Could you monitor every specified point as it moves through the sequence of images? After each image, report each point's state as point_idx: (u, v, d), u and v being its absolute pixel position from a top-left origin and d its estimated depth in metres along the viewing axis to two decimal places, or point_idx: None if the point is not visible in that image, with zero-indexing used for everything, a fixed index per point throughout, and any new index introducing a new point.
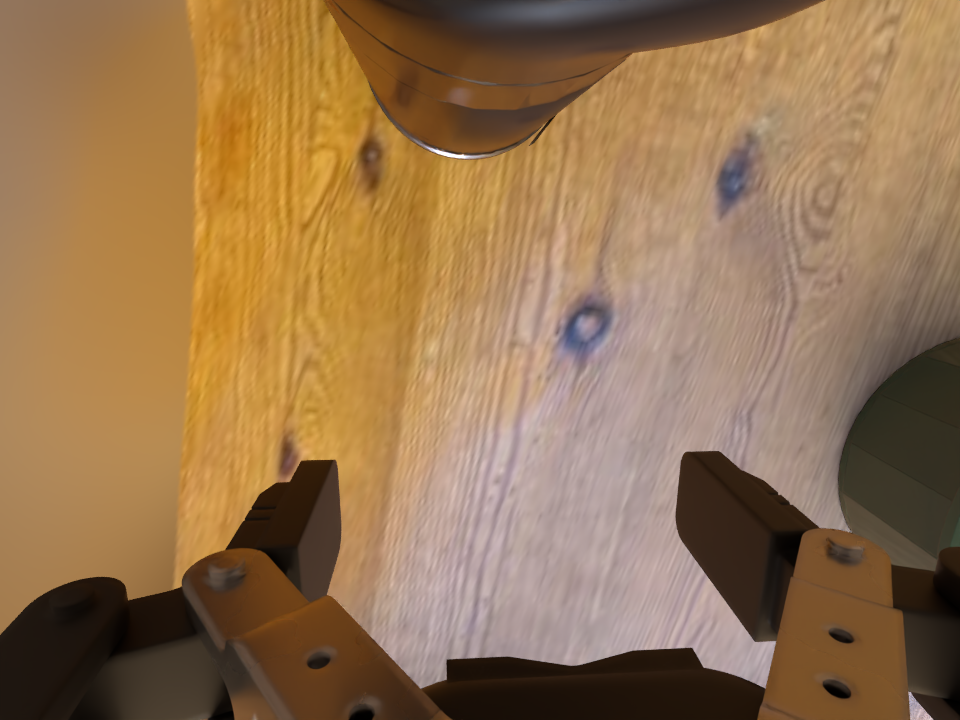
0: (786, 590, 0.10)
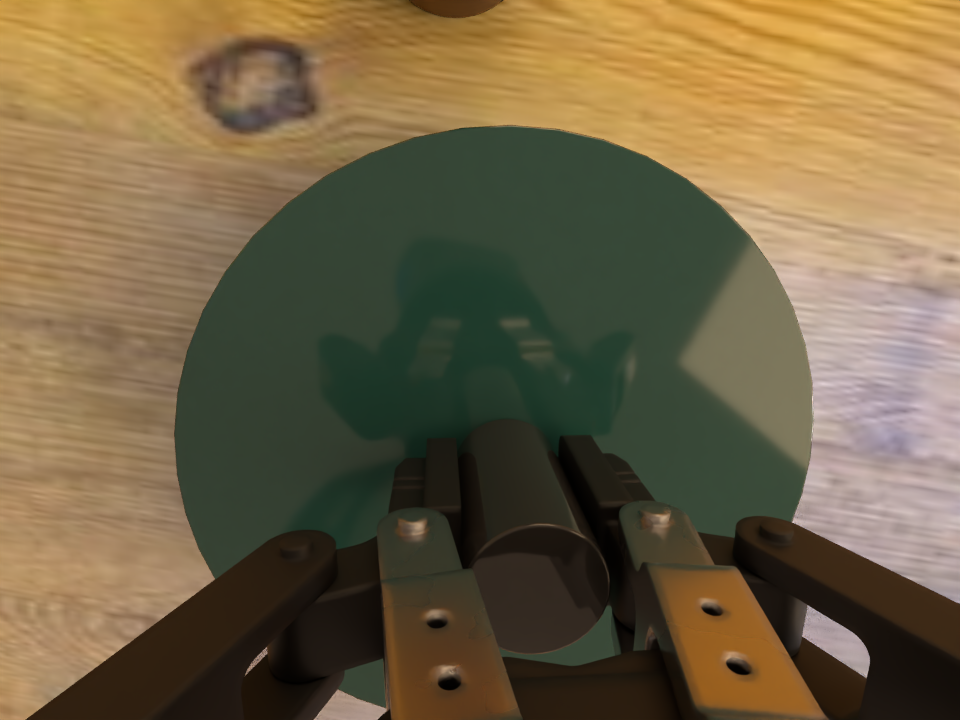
0: None
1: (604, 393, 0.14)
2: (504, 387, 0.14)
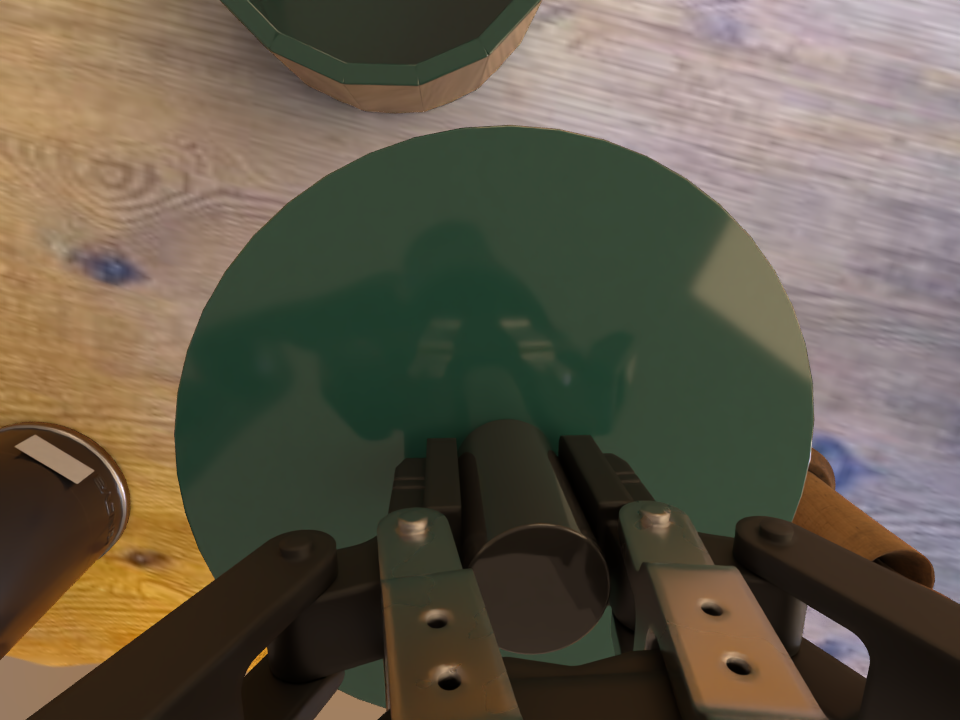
0: None
1: (604, 393, 0.14)
2: (504, 387, 0.14)
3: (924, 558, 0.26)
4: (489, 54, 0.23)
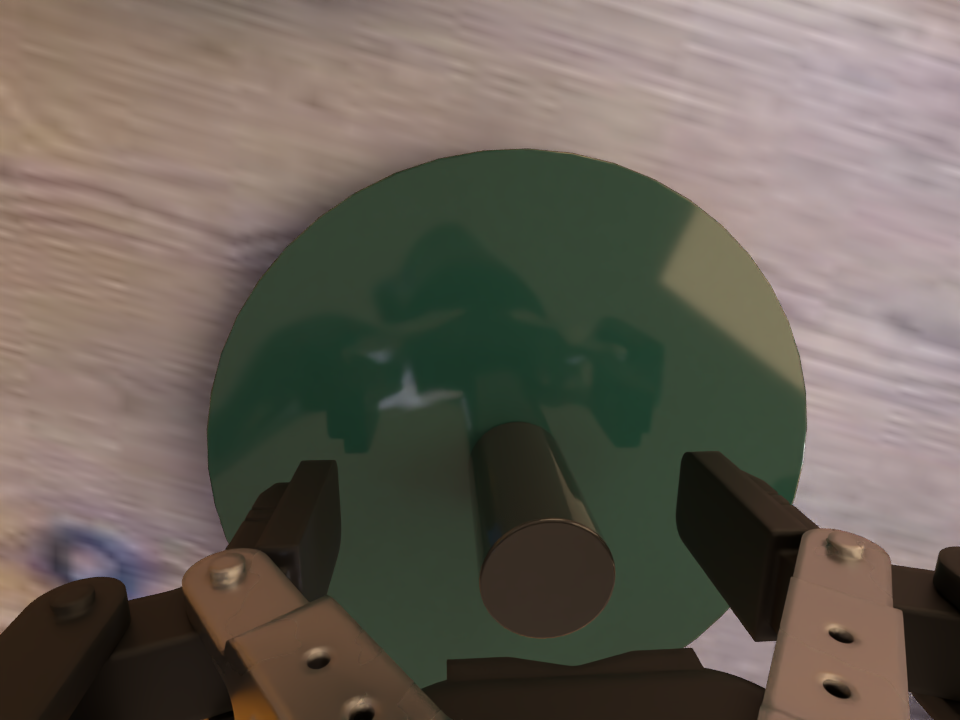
0: (786, 590, 0.10)
1: (610, 399, 0.15)
2: (516, 392, 0.15)
3: None
4: None
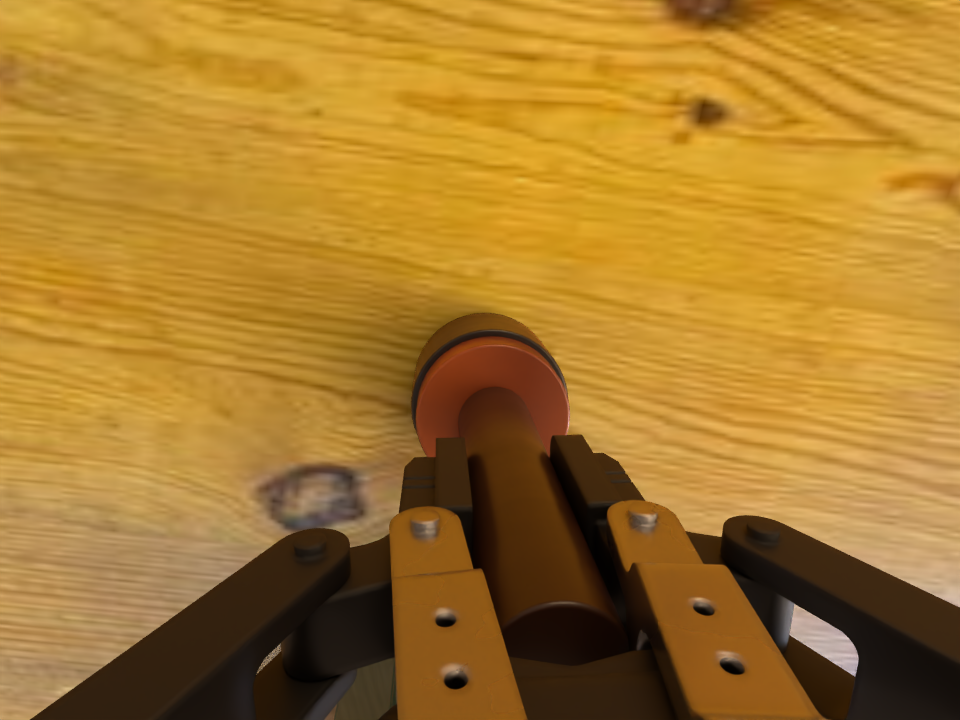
0: None
1: None
2: None
3: None
4: None
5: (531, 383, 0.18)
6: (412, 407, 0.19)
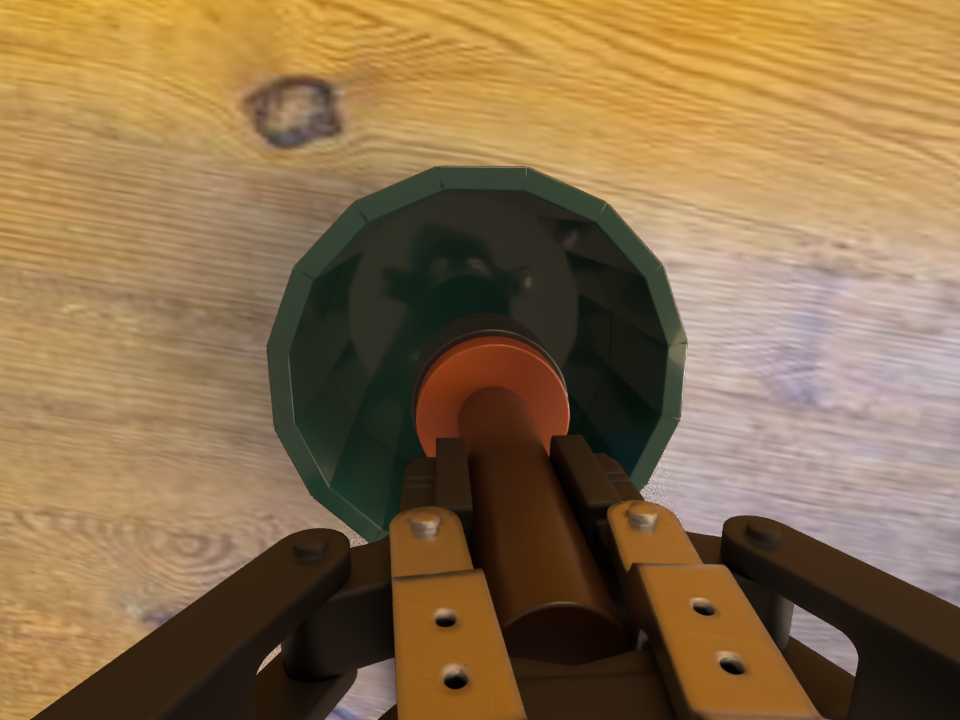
0: None
1: None
2: None
3: None
4: None
5: (531, 383, 0.18)
6: (412, 407, 0.19)
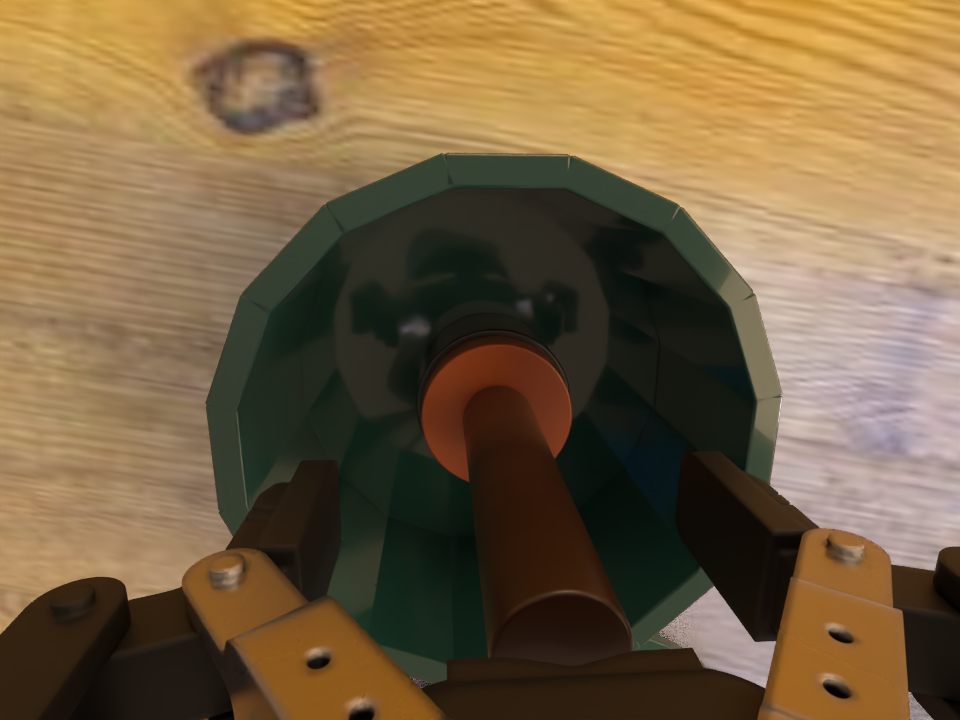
0: (786, 590, 0.10)
1: None
2: None
3: None
4: (641, 643, 0.18)
5: (534, 382, 0.18)
6: (417, 405, 0.19)
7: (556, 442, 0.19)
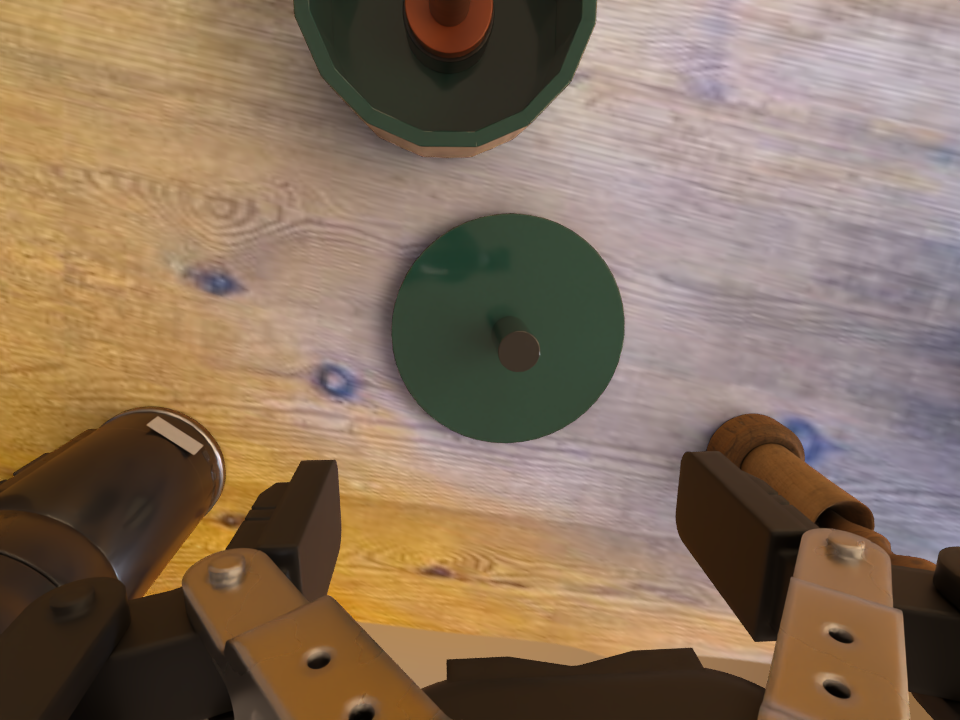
0: (786, 590, 0.10)
1: (545, 307, 0.40)
2: (509, 304, 0.40)
3: (865, 507, 0.34)
4: (530, 123, 0.31)
5: None
6: (403, 9, 0.33)
7: (484, 23, 0.32)
